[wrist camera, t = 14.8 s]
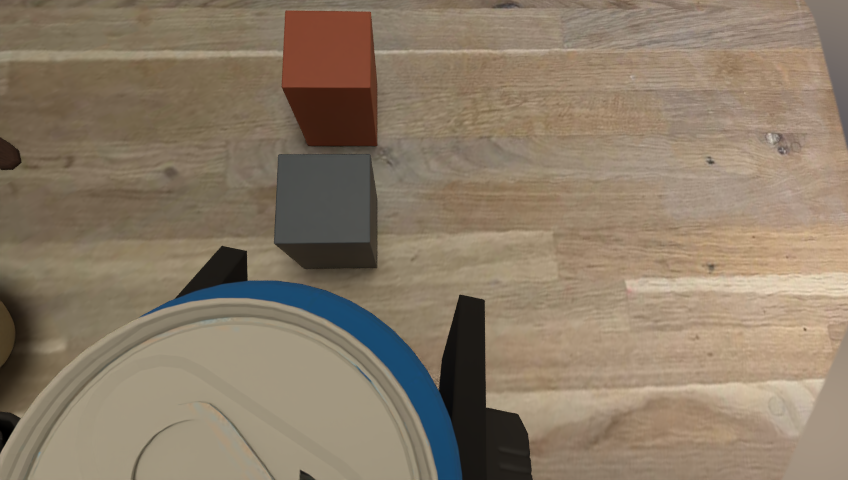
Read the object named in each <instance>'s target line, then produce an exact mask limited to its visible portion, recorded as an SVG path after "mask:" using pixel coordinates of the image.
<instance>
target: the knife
mask: <svg viewBox="0 0 848 480" xmlns="http://www.w3.org/2000/svg"><path fill="white" fill-rule="evenodd" d="M20 163H21V158H20V153H19V150H18V149H16V148H15V147H14V146H13V145H11V144H10V143H9V142H7V141H5V140H3V139H2V138H0V169H1V170H13V169H14V168H15V167H17V166H18V165H19V164H20Z"/></svg>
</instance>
